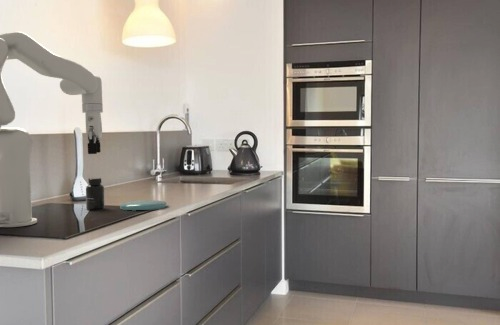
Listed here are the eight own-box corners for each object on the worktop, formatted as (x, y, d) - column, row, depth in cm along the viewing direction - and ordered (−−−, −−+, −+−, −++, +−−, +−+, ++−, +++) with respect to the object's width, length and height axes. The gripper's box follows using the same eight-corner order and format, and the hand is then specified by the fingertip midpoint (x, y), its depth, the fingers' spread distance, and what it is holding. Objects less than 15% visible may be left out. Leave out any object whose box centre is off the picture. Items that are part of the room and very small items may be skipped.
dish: (150, 211, 187) (150, 207, 187) (110, 209, 194) (110, 205, 194) (175, 205, 204) (175, 201, 204) (137, 203, 210) (137, 199, 210)
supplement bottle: (85, 210, 192) (84, 179, 191) (86, 208, 199) (85, 177, 198) (104, 209, 194) (103, 178, 193) (104, 207, 200) (103, 177, 200)
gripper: (99, 107, 186) (101, 154, 187) (105, 109, 203) (107, 151, 204) (78, 108, 185) (80, 154, 186) (86, 109, 202) (88, 152, 203)
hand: (94, 153), depth 195 cm, fingers open, 9 cm apart
